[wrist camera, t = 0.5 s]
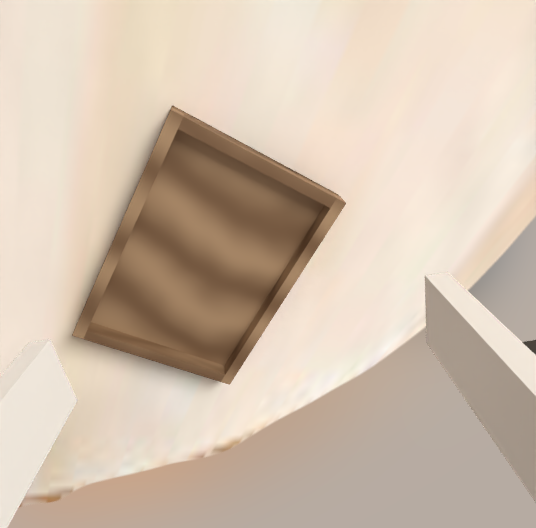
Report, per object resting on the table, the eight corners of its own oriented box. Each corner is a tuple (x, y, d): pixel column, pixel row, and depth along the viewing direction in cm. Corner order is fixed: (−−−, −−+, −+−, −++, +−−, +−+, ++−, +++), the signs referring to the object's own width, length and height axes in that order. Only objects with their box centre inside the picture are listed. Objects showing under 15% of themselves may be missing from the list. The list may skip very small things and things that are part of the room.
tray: (172, 105, 33) (170, 109, 30) (338, 194, 38) (346, 203, 36) (78, 320, 40) (72, 335, 38) (228, 368, 46) (229, 384, 43)
